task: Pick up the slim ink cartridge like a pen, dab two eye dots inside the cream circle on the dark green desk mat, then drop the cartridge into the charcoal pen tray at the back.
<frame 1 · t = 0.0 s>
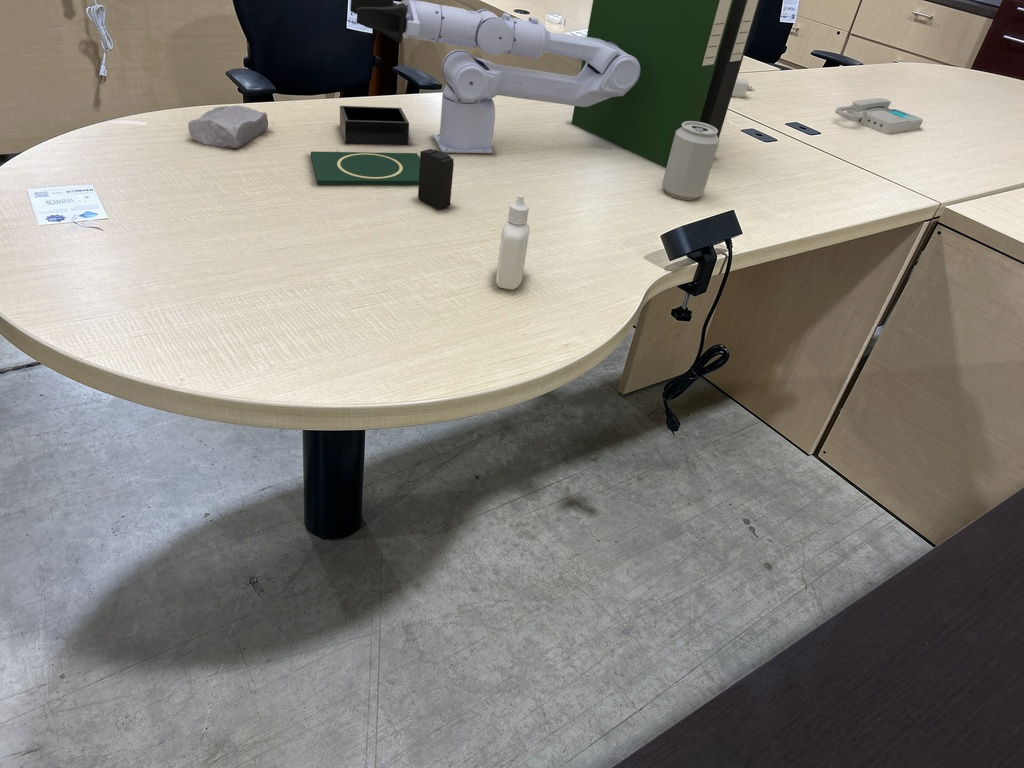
hand: (354, 9, 117), 22 cm above the table, tool horizontal, fingers open, 7 cm apart
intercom: (871, 125, 186), on the table
eye dropper bottle: (508, 281, 98), on the table
can: (681, 194, 131), on the table
ink cartridge: (434, 205, 114), on the table
binder: (640, 141, 152), on the table
pen tray: (373, 136, 134), on the table
desk mat: (370, 170, 121), on the table
stone block: (228, 135, 126), on the table
usb wall charger: (738, 96, 191), on the table
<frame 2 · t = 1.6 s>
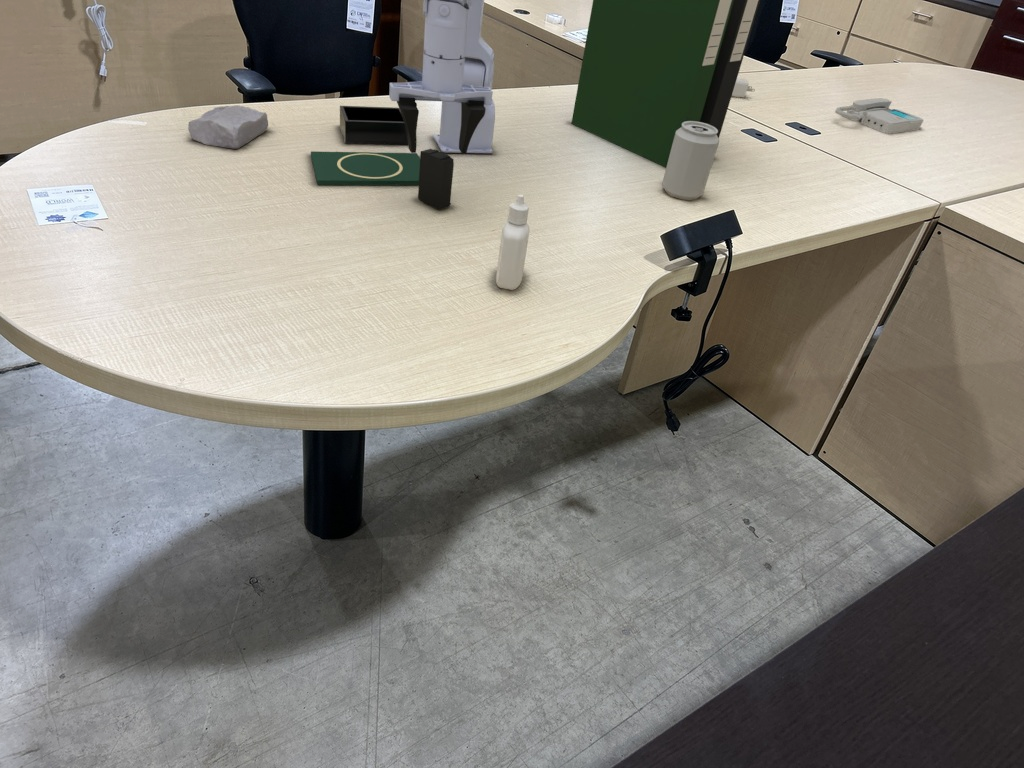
hand: (437, 150, 109), 8 cm above the table, tool pointing down, fingers open, 7 cm apart
nothing on the table moved.
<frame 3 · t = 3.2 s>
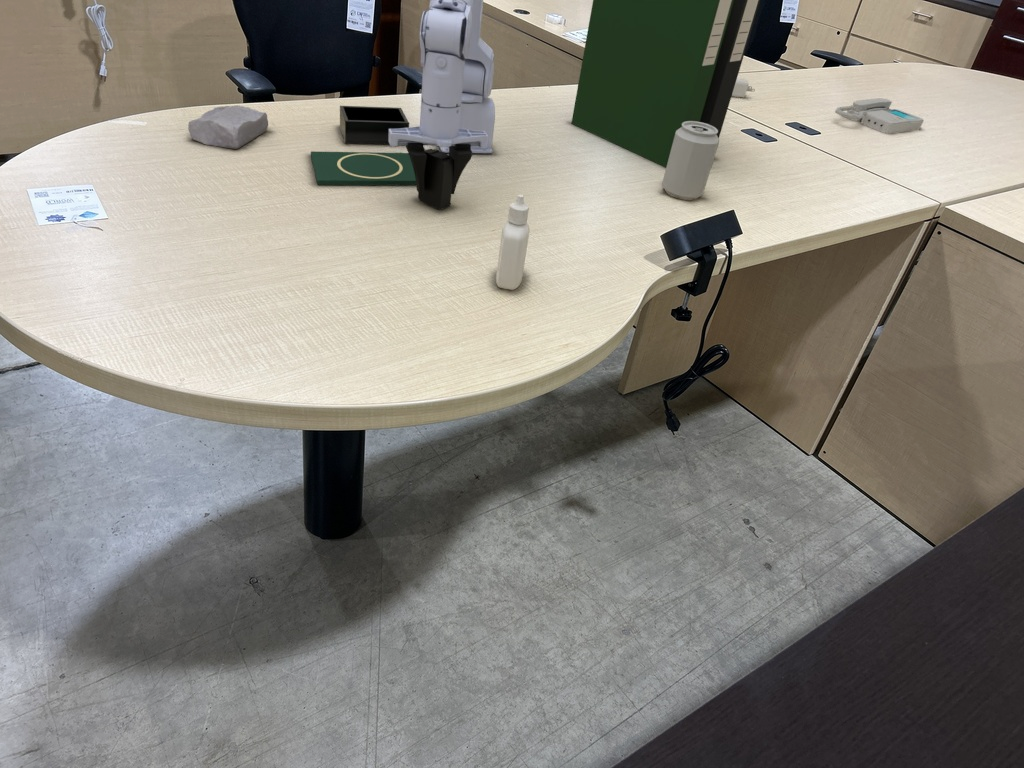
hand: (435, 191, 113), 2 cm above the table, tool pointing down, fingers closed on ink cartridge, 4 cm apart
ink cartridge: (434, 204, 114), on the table, touching gripper
everything else where it was.
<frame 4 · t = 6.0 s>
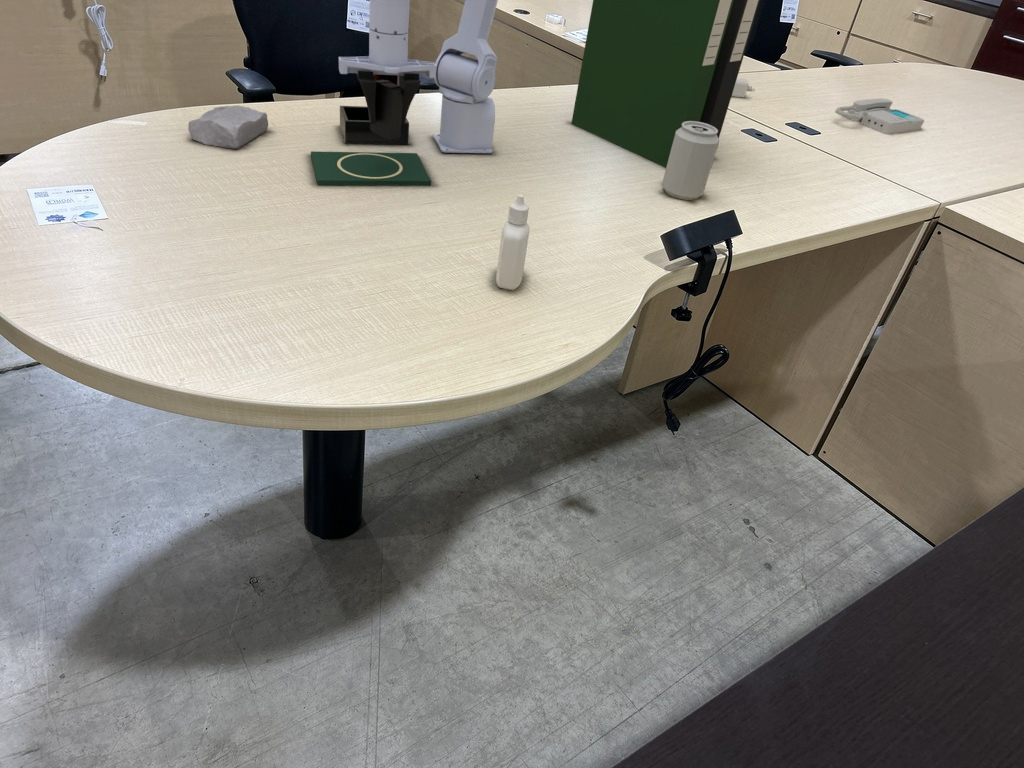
hand: (386, 122, 116), 8 cm above the table, tool pointing down, fingers closed on ink cartridge, 4 cm apart
ink cartridge: (385, 136, 118), point 6 cm above the table, touching gripper
everything else where it was.
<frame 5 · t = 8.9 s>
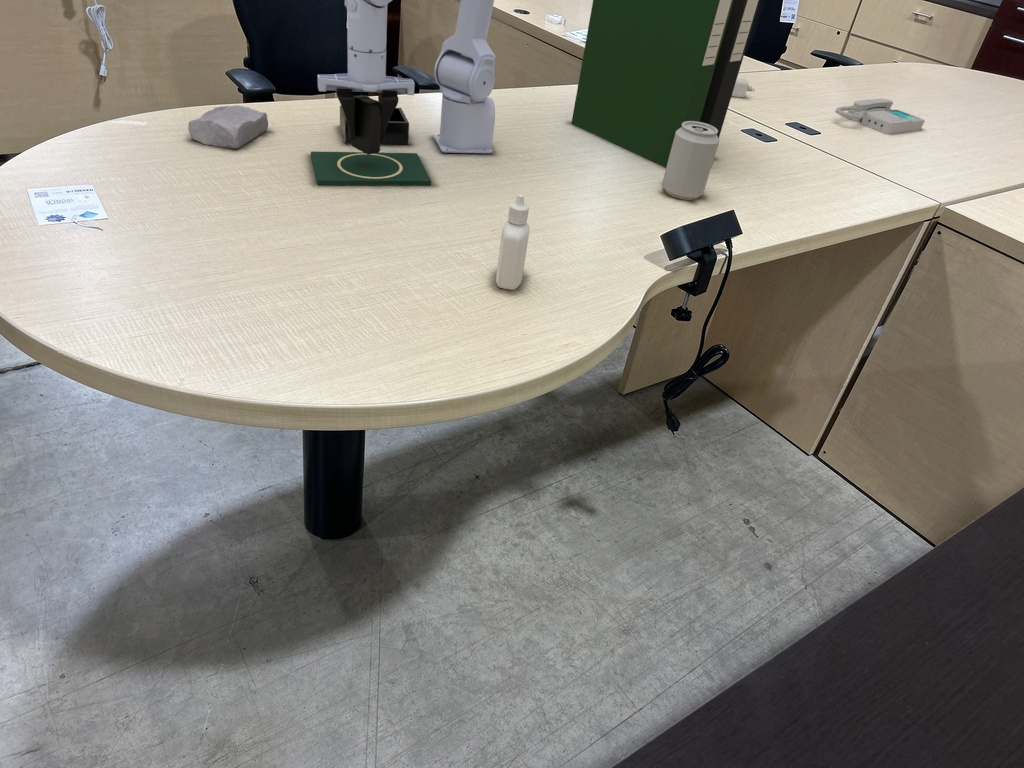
hand: (366, 138, 118), 5 cm above the table, tool pointing down, fingers closed on ink cartridge, 4 cm apart
ink cartridge: (365, 150, 119), point 3 cm above the table, touching gripper
everything else where it was.
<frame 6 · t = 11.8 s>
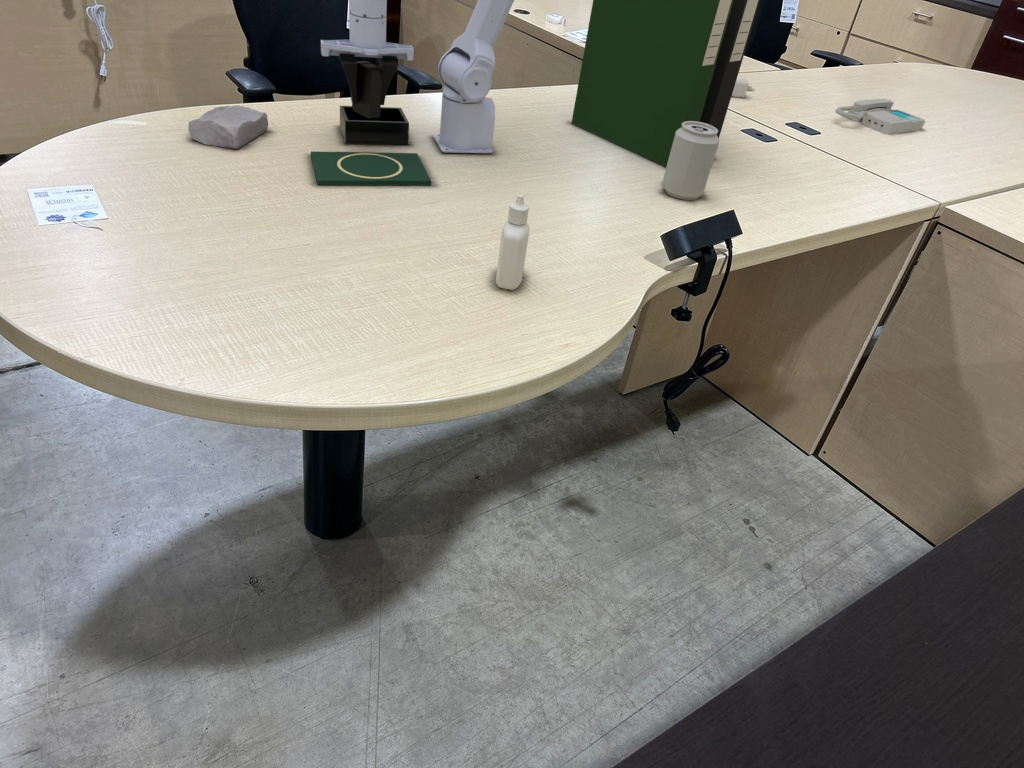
hand: (367, 102, 123), 8 cm above the table, tool pointing down, fingers closed on ink cartridge, 4 cm apart
ink cartridge: (366, 115, 124), point 6 cm above the table, touching gripper
everything else where it was.
when the fingers open (3 cm above the table, at t = 14.4 s): ink cartridge stays where it is, resting on pen tray.
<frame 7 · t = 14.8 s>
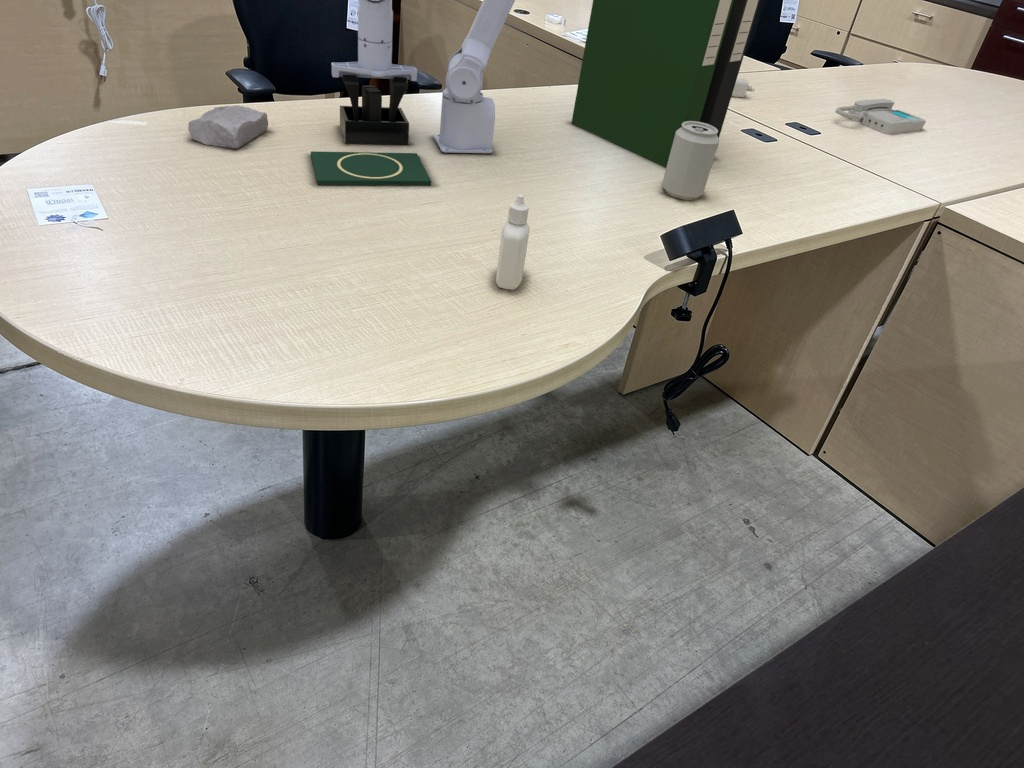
hand: (374, 119, 132), 3 cm above the table, tool pointing down, fingers open, 6 cm apart
ink cartridge: (371, 134, 134), resting on pen tray
everything else where it was.
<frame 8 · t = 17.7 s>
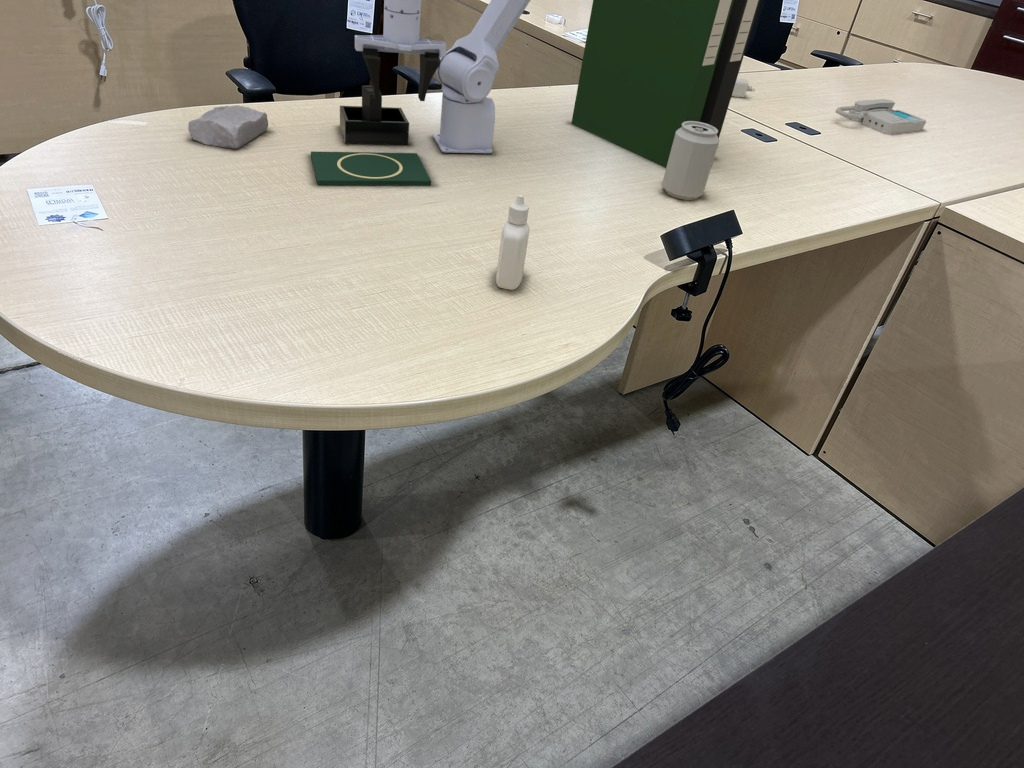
hand: (398, 98, 123), 9 cm above the table, tool pointing down, fingers open, 7 cm apart
nothing on the table moved.
at the end: ink cartridge inside the target area in the pen tray (0.4 cm from its centre), point 0.3 cm above the pen tray's base; the gripper is holding nothing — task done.
